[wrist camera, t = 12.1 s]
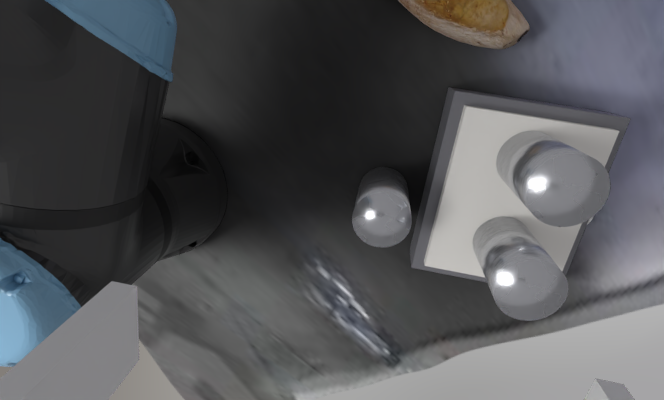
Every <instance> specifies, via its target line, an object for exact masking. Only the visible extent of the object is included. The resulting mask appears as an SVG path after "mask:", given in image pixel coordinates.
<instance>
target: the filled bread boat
mask: <svg viewBox="0 0 664 400" xmlns="http://www.w3.org/2000/svg"><path fill="white" fill-rule="evenodd" d="M398 1H399V2H400V3H401V4H402V5H403V6H404V7H405V8H406V9H407V10H408V11H409V12H410V13H412V14H413V15H414V16H415V17H416V18H418V19H419V20H420V21H421V22H422V23H424V24H425V25H427V26H428V27H430V28H431V29H433V30H434V31H436V32H439V33H441V34H443V35H445V36H447V37H449V38H452V39H454V40H456V41H459V42H462V43H466V44H470V45H473V46H478V47H485V48H492V49H506V48H509V47H511V46H513V45H515V44H516V43H517V42H518V41H520V39H521V38H522V37H523V36H524V35H525V34H526V33H527V32H528V31H529V28H530V26H529V24H528V22H527V21H526V19H525V18H524V16H523V15H522V13H521V12H520V11H519V10H518V8H517V7H516V6H515V5H514V4H513V3H512V1H511V0H398Z"/></svg>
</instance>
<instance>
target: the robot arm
mask: <svg viewBox="0 0 664 400" xmlns="http://www.w3.org/2000/svg"><path fill="white" fill-rule="evenodd" d="M176 34H177V22H176V17H175V15H174V12H173V10H172V8H171V7H170V5H169V4H168V2H167V1H166V0H0V366H6V367H13V368H11V369H10V370H9V371H8V372H7V373H6V374H5V375H3V376H2V377H1V378H0V400H108V399H109V398H110V397H111V395H112V394H113V393H114V392H115V390H116V389H117V388H118V386H119V385H120V384H121V382H122V381H123V380H124V379H125V377H126V376H127V375H128V373H129V372H130V371H131V370H132V368H133V367H134V366H135V364H136V363H137V362H138V360H139V335H138V302H137V286H134V285H132V284H133V283H134V282H135V281H136V280H137V279H138V278H139V277H140V276H142V275H143V274H144V273H145V272H146V271H147V270H148V269H149V268H150V267H151V266H152V265H153V264H155V263H156V262H157V261H160V260H163V259H166V258H169V257H172V256H176V255H179V254H182V253H185V252H188V251H190V250H192V249H194V248H196V247H197V246H199V245H200V244H201V243H203V242H204V241H205V240H206V239H207V238H208V237H209V236H210V235H211V234H212V233H213V232H214V231H215V230H216V228H217V227H218V226H219V224H220V222H221V221H222V218H223V216H224V213H225V210H226V205H227V185H226V180H225V176H224V173H223V170H222V168H221V166H220V163H219V162H218V160H217V158H216V156H215V155H214V153H213V152H212V150H211V149H210V148H209V147H208V145H207V144H206V143H205V142H204V141H203V140H202V139H201V138H200V137H198V136H197V135H196V134H195V133H193V132H192V131H191V130H189V129H187V128H186V127H184V126H182V125H180V124H178V123H176V122H173V121H170V120H167V119H162V114H163V109H164V105H165V100H166V96H167V91H168V86H169V82H172V80H173V73H172V72H171V66H172V60H173V53H174V47H175V40H176ZM584 400H635V399H634V398H633V396H632V395H631V394H630V392H629V391H628V390H627V388H626V387H625V386H624V384H620V383H615V382H610V381H605V380H600V379H595V380H594V382H593V384H592V386H591V388H590V389H589V392H588V393H587V395H586V397H585V399H584Z"/></svg>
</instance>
